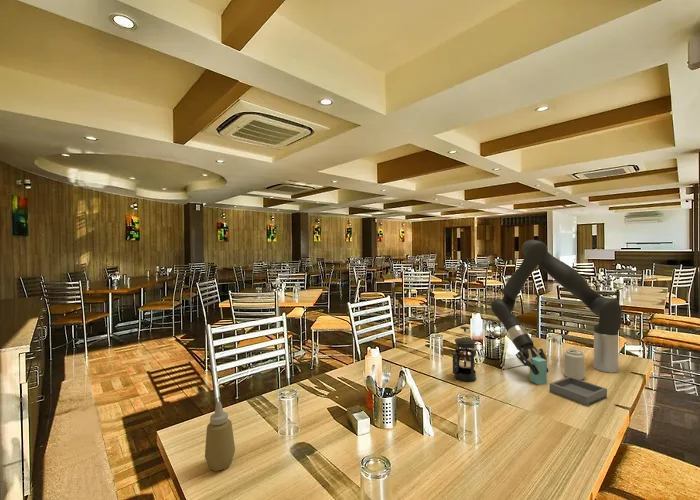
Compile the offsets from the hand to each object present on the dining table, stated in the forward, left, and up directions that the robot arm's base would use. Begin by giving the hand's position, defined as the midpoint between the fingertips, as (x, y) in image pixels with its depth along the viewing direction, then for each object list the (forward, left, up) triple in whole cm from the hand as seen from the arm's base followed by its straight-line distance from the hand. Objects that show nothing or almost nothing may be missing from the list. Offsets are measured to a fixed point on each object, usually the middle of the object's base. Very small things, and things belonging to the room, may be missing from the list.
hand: (542, 373), depth 147 cm
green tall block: (0, -2, -5) cm, 5 cm away
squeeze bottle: (+128, -13, -5) cm, 128 cm away
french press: (+24, -21, -5) cm, 32 cm away
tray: (-2, +13, -5) cm, 14 cm away
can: (-18, +3, -5) cm, 19 cm away
